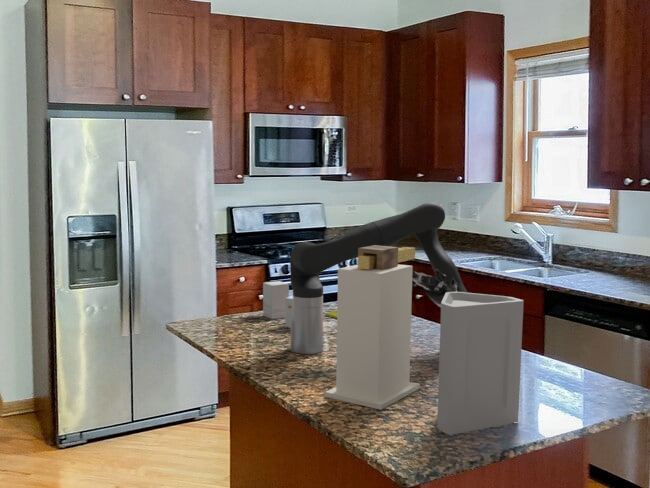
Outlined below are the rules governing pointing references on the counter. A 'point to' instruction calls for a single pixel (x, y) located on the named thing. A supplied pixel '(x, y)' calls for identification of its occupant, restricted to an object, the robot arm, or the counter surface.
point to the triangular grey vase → (479, 361)
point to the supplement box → (274, 299)
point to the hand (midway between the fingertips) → (421, 271)
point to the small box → (288, 311)
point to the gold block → (371, 259)
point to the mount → (374, 331)
